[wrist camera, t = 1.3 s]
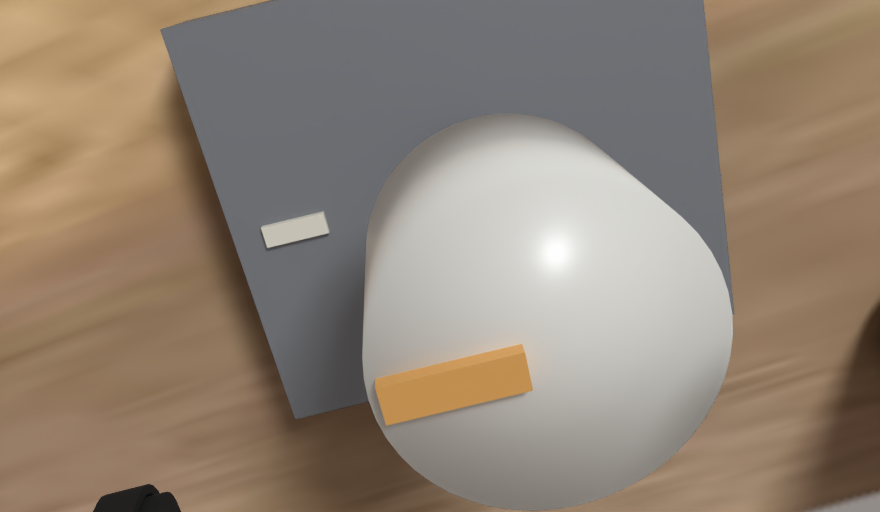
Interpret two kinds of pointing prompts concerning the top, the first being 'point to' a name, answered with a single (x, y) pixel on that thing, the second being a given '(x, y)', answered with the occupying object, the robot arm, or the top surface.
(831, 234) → the top surface
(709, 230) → the stub base
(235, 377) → the top surface
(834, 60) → the top surface
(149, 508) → the robot arm
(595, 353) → the white rounded dome
